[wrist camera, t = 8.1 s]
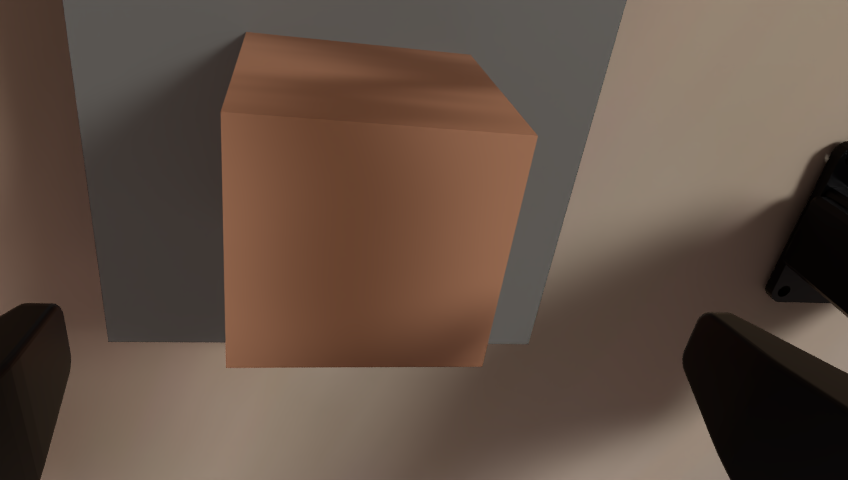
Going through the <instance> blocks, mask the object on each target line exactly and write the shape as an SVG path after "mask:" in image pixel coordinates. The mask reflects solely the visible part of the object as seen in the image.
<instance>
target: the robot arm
mask: <svg viewBox="0 0 848 480" xmlns="http://www.w3.org/2000/svg"><path fill="white" fill-rule="evenodd" d="M847 156H848V141H845V142H843V143H841V144H839V145H838V146H837V147H836V148H835V149H834V151H833V152H832V154H831V156H830V158H829V160H828V162H827V164H826V166H825V168H824V170H823V172H822V174H821V176H820V178H819V180H818V182H817V184H816V186H815V188H814V190H813V192H812V194H811V196H810V198H809V200H808V202H807V204H806V206H805V208H804V210H803V212H802V214H801V216H800V218H799V220H798V222H797V224H796V226H795V228H794V230H793V232H792V234H791V236H790V238H789V240H788V242H787V244H786V246H785V248H784V250H783V252H782V254H781V256H780V258H779V260H778V262H777V264H776V266H775V269H774V271H773V273H772V275H771V277H770V279H769V281H768V283H767V285H766V288H765V291H766V293H767V294H768V295H769V296H770V297H771V298H772V299H773V300H774V301H777V302H807V303H831V304H833V305H834V306H835V307H836V308H837V309H839V310H840V311H841V312H842V313H843V314H844V315H846V316H847V317H848V158H847ZM846 158H847V159H846ZM780 288H781V289H780ZM70 367H71V353H70V348H69V342H68V337H67V331H66V326H65V320H64V315H63V312H62V310H61V308H60V307H59V306H58V305H56V304H52V303H24V304H21V305H19V306H17V307H15V308H13V309H12V310H10V311H8V312H7V313H5V314H3V315H2V316H0V480H40V479H41V475H42V472H43V469H44V465H45V462H46V458H47V454H48V451H49V447H50V443H51V440H52V436H53V432H54V429H55V425H56V421H57V418H58V414H59V410H60V406H61V403H62V399H63V395H64V392H65V388H66V384H67V381H68V377H69V373H70ZM683 368H684V371H685V374H686V376H687V379H688V381H689V384H690V386H691V389H692V391H693V394H694V396H695V399H696V401H697V404H698V406H699V409H700V411H701V414H702V416H703V419H704V422H705V424H706V427H707V429H708V432H709V434H710V437H711V439H712V442H713V444H714V446H715V449H716V451H717V453H718V456H719V458H720V460H721V462H722V464H723V466H724V468H725V470H726V472H727V474H728V476H729V478H730V480H848V373H846V372H844V371H842V370H840V369H838V368H836V367H834V366H832V365H830V364H828V363H826V362H824V361H822V360H821V359H819V358H817V357H815V356H813V355H811V354H809V353H807V352H805V351H803V350H801V349H799V348H797V347H795V346H794V345H792V344H790V343H788V342H786V341H784V340H782V339H780V338H778V337H776V336H774V335H772V334H770V333H768V332H766V331H765V330H763V329H761V328H759V327H757V326H755V325H753V324H751V323H749V322H747V321H745V320H743V319H741V318H739V317H738V316H736V315H734V314H731V313H720V312H708V313H705V314H703V315H702V316H701V317H699V319H698V321H697V323H696V325H695V327H694V330H693V332H692V334H691V337H690V339H689V341H688V343H687V346H686V348H685V350H684V353H683Z"/></svg>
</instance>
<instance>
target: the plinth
mask: <svg viewBox="0 0 848 480" xmlns="http://www.w3.org/2000/svg"><path fill="white" fill-rule="evenodd" d="M626 1H627V0H63V7H64V15H65V22H66V30H67V37H68V45H69V52H70V59H71V67H72V74H73V82H74V89H75V97H76V104H77V112H78V119H79V126H80V134H81V141H82V149H83V156H84V164H85V171H86V178H87V186H88V193H89V201H90V208H91V216H92V223H93V231H94V238H95V245H96V253H97V260H98V268H99V275H100V283H101V290H102V298H103V305H104V312H105V320H106V327H107V335H108V342H226V339H225V292H224V245H223V198H222V151H221V109H222V106H223V103H224V100H225V97H226V94H227V90H228V87H229V84H230V81H231V78H232V75H233V72H234V69H235V65H236V62H237V59H238V56H239V53H240V50H241V47H242V44H243V40H244V37H245V34H246V32H252V33H262V34H272V35H281V36H291V37H301V38H311V39H321V40H331V41H340V42H350V43H360V44H370V45H380V46H390V47H399V48H409V49H419V50H429V51H439V52H449V53H458V54H468V55H471V56H472V57H473V58H474V60H475V61H476V62H477V63H478V64H479V66H480V67H481V68H482V69H483V70H484V72H485V73H486V74H487V75H488V76H489V78H490V79H491V80H492V81H493V82H494V84H495V85H496V86H497V87H498V88H499V90H500V91H501V92H502V93H503V94H504V96H505V97H506V98H507V99H508V100H509V102H510V103H511V104H512V105H513V106H514V108H515V109H516V110H517V111H518V112H519V114H520V115H521V116H522V117H523V118H524V120H525V121H526V122H527V123H528V124H529V126H530V127H531V128H532V129H533V130H534V132H535V133H536V134H537V135H538V138H537V142H536V146H535V150H534V154H533V159H532V163H531V167H530V171H529V175H528V179H527V183H526V188H525V192H524V196H523V200H522V204H521V208H520V212H519V216H518V221H517V225H516V229H515V233H514V237H513V241H512V245H511V250H510V254H509V258H508V262H507V266H506V270H505V274H504V278H503V283H502V287H501V291H500V295H499V299H498V303H497V307H496V312H495V316H494V320H493V324H492V328H491V332H490V336H489V341H488V344H528V343H529V340H530V336H531V333H532V329H533V326H534V322H535V319H536V315H537V312H538V308H539V305H540V301H541V298H542V294H543V291H544V287H545V284H546V280H547V277H548V273H549V270H550V266H551V263H552V259H553V256H554V252H555V249H556V245H557V242H558V238H559V235H560V231H561V228H562V224H563V221H564V217H565V214H566V210H567V207H568V203H569V200H570V196H571V193H572V189H573V186H574V182H575V179H576V175H577V172H578V168H579V165H580V161H581V158H582V154H583V151H584V148H585V144H586V141H587V137H588V134H589V130H590V127H591V123H592V120H593V116H594V113H595V109H596V106H597V102H598V99H599V95H600V92H601V88H602V85H603V81H604V78H605V74H606V71H607V67H608V64H609V60H610V57H611V53H612V50H613V46H614V43H615V39H616V36H617V32H618V29H619V25H620V22H621V18H622V15H623V11H624V8H625V4H626Z"/></svg>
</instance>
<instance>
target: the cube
mask: <svg viewBox="0 0 848 480" xmlns="http://www.w3.org/2000/svg"><path fill="white" fill-rule="evenodd" d="M537 138H538V135H537V134H536V133H535V132H534V130H533V129H532V128H531V127H530V126H529V124H528V123H527V122H526V121H525V120H524V118H523V117H522V116H521V115H520V114H519V112H518V111H517V110H516V109H515V108H514V106H513V105H512V104H511V103H510V102H509V100H508V99H507V98H506V97H505V96H504V94H503V93H502V92H501V91H500V90H499V88H498V87H497V86H496V85H495V84H494V82H493V81H492V80H491V79H490V78H489V76H488V75H487V74H486V73H485V72H484V70H483V69H482V68H481V67H480V66H479V64H478V63H477V62H476V61H475V60H474V58H473V57H472V56H471V55H468V54H458V53H449V52H439V51H429V50H419V49H409V48H399V47H390V46H380V45H370V44H360V43H350V42H340V41H331V40H321V39H311V38H301V37H291V36H281V35H272V34H262V33H252V32H246V34H245V37H244V40H243V44H242V47H241V50H240V53H239V56H238V59H237V62H236V65H235V69H234V72H233V75H232V78H231V81H230V84H229V87H228V90H227V94H226V97H225V100H224V103H223V106H222V109H221V151H222V198H223V245H224V292H225V339H226V368H272V367H482V365H483V361H484V357H485V353H486V349H487V345H488V341H489V336H490V332H491V328H492V324H493V320H494V316H495V312H496V307H497V303H498V299H499V295H500V291H501V287H502V283H503V278H504V274H505V270H506V266H507V262H508V258H509V254H510V250H511V245H512V241H513V237H514V233H515V229H516V225H517V221H518V216H519V212H520V208H521V204H522V200H523V196H524V192H525V188H526V183H527V179H528V175H529V171H530V167H531V163H532V159H533V154H534V150H535V146H536V142H537Z"/></svg>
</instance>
